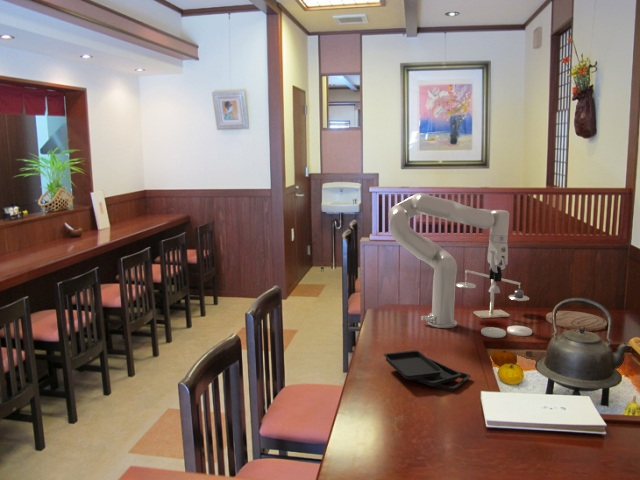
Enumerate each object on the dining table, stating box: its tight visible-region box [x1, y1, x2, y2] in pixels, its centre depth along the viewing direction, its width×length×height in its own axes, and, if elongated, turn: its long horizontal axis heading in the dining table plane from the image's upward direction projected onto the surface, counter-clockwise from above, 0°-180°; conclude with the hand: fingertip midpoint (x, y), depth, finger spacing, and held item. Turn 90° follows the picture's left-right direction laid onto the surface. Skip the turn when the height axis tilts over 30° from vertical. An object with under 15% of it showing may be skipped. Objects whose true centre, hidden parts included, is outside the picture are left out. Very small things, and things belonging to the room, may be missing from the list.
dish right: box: [506, 325, 533, 337], centre depth 239 cm, size 10×10×1 cm
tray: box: [383, 349, 472, 392], centre depth 191 cm, size 30×23×5 cm
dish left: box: [480, 326, 507, 339], centre depth 236 cm, size 10×10×1 cm
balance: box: [455, 269, 530, 319], centre depth 261 cm, size 36×9×22 cm, turn 101°
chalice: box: [488, 250, 501, 294], centre depth 244 cm, size 7×7×18 cm
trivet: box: [545, 310, 608, 330], centre depth 252 cm, size 25×25×2 cm
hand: (495, 279), depth 245 cm, fingers closed on chalice, 3 cm apart
